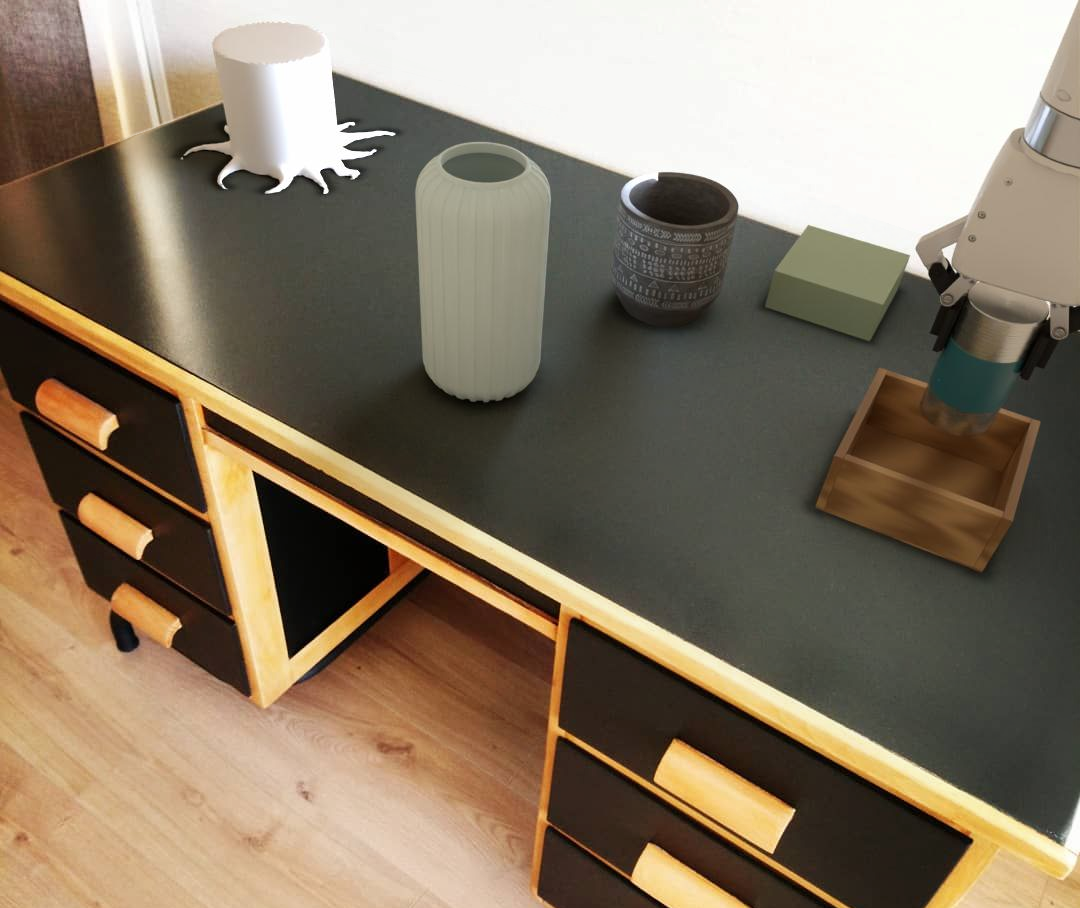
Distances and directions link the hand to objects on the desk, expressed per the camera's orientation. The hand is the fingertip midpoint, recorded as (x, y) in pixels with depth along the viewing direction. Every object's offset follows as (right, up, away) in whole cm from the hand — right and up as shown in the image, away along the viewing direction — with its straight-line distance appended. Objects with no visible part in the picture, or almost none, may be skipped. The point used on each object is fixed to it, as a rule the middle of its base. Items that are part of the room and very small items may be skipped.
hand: (983, 354), depth 75 cm
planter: (-22, +11, +30) cm, 38 cm away
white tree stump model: (-70, +37, +51) cm, 94 cm away
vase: (-41, +1, +19) cm, 46 cm away
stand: (-2, +12, +32) cm, 35 cm away
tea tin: (0, -4, +4) cm, 6 cm away
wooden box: (-1, -10, +11) cm, 15 cm away
